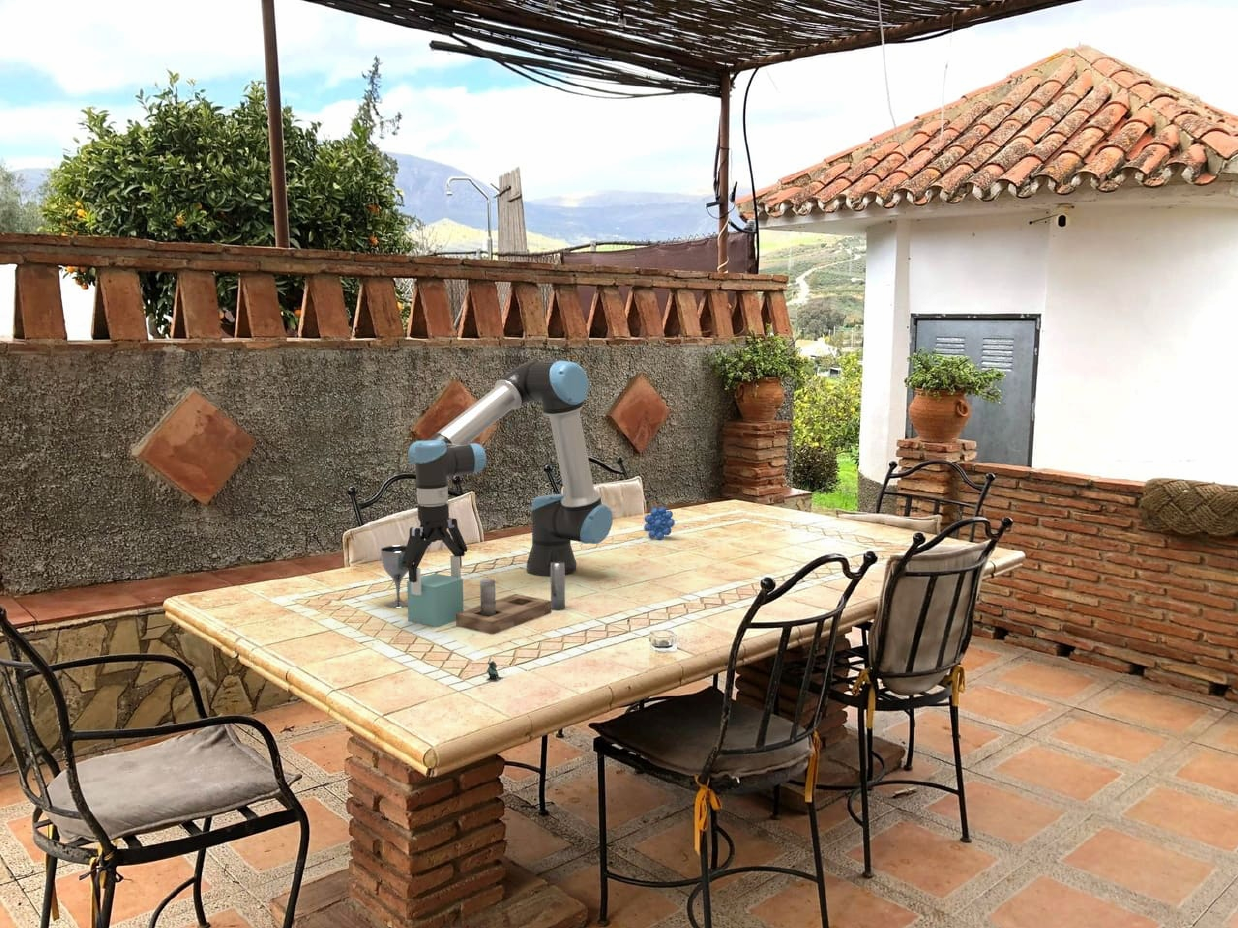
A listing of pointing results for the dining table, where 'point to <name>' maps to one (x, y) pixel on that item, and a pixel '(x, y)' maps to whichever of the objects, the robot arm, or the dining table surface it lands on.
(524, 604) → the board
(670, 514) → the grapes
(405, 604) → the wine glass
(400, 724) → the dining table surface
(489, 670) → the sculpture
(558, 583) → the pin
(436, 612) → the teal cube block
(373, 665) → the dining table surface
